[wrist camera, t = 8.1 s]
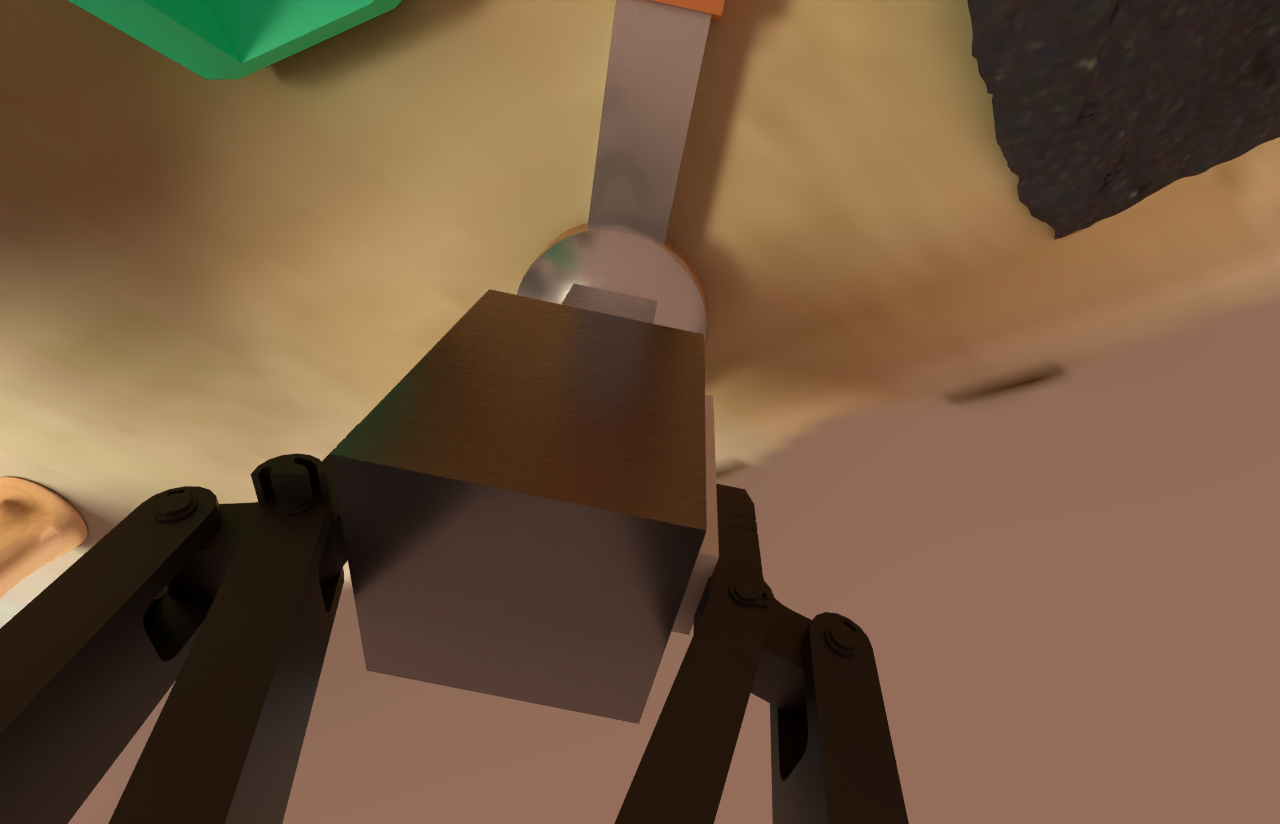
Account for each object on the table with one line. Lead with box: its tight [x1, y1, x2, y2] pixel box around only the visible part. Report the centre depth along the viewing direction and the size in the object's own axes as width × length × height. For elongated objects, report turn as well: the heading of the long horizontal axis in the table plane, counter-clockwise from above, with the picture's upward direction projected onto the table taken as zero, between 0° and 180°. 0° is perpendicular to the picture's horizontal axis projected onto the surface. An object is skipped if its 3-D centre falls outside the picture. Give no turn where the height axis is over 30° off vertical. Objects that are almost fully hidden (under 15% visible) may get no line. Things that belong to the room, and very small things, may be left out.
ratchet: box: [517, 0, 725, 347], centre depth 17 cm, size 24×8×7 cm, turn 169°
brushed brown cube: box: [330, 289, 707, 724], centre depth 14 cm, size 6×6×8 cm
